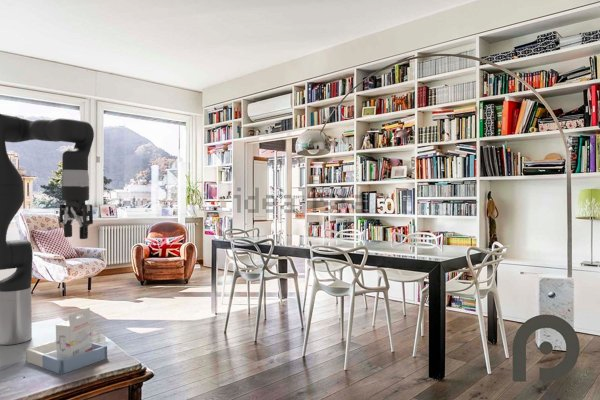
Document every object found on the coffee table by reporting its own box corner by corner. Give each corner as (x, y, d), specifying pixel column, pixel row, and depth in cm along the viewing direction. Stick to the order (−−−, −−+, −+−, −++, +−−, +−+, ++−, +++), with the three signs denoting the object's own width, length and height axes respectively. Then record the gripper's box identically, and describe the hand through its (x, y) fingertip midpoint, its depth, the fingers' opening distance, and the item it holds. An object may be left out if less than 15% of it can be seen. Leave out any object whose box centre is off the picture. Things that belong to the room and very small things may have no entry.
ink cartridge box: (78, 355, 129) (77, 306, 129) (92, 357, 127) (91, 307, 127) (55, 366, 120) (54, 313, 120) (70, 368, 119) (69, 314, 119)
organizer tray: (25, 361, 125) (25, 349, 125) (71, 347, 137) (71, 335, 137) (60, 374, 115) (60, 361, 115) (107, 358, 127) (107, 346, 127)
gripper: (50, 185, 134) (51, 237, 134) (76, 184, 126) (76, 240, 126) (74, 185, 140) (74, 235, 140) (100, 185, 132) (100, 238, 132)
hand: (75, 237), depth 133 cm, fingers open, 8 cm apart
